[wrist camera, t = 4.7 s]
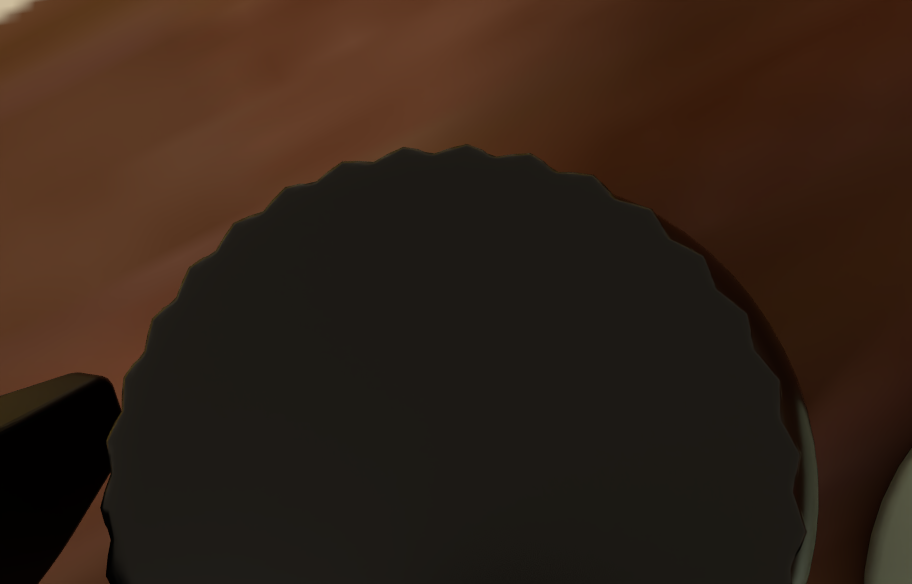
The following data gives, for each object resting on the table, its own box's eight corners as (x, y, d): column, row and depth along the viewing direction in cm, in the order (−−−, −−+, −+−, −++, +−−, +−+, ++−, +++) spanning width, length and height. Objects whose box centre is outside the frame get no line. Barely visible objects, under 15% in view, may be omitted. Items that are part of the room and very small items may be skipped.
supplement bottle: (381, 308, 18) (6, 41, 6) (691, 290, 17) (917, -69, 5) (384, 631, 17) (-92, 1044, 5) (723, 632, 16) (1129, 1155, 4)
